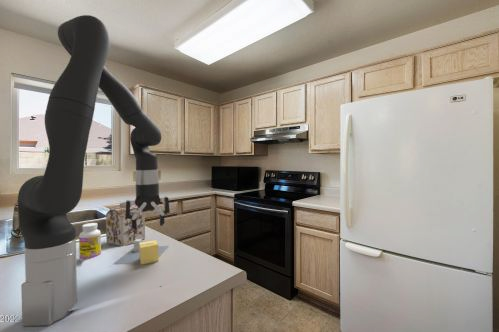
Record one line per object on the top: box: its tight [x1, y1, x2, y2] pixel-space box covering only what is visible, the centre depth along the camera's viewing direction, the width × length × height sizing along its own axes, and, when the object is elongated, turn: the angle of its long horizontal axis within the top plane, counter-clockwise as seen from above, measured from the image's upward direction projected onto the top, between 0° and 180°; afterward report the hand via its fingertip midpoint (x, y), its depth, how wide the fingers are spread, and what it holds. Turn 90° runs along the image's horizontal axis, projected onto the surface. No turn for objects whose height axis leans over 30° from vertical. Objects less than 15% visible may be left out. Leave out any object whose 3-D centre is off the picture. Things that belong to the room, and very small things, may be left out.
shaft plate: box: [113, 239, 170, 265], centre depth 86 cm, size 16×14×5 cm
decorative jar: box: [105, 201, 146, 247], centre depth 103 cm, size 12×12×18 cm
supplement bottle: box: [78, 222, 102, 262], centre depth 85 cm, size 7×7×13 cm
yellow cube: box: [139, 239, 159, 266], centre depth 81 cm, size 6×6×6 cm
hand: (148, 227), depth 81 cm, fingers open, 8 cm apart
